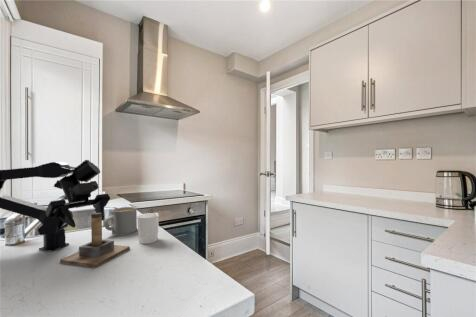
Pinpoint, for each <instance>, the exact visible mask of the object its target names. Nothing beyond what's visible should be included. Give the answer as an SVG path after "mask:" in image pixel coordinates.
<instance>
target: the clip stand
mask: <svg viewBox="0 0 476 317" xmlns="http://www.w3.org/2000/svg"><path fill="white" fill-rule="evenodd" d="M129 250H131V246H130V245H121V244H115V241H114V240H109V239H102V245H100V246H97V247H93V246H92V241H90V242H87V243H85V244H83V245H80V246H79V247H78V251H77V252H74V253H72V254H70V255H67V256H64V257H63V258H60V259H59V264H65V265H66V264H67V265H73V266H79V267H80V266H81V267H87V268H94V269H96V268H98V267H100V266H102V265H104V264H105V263H107V262H109V261H112V259H114V258H116V257H119V256H120V255H122V254H124V253H125V252H128V251H129Z"/></svg>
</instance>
